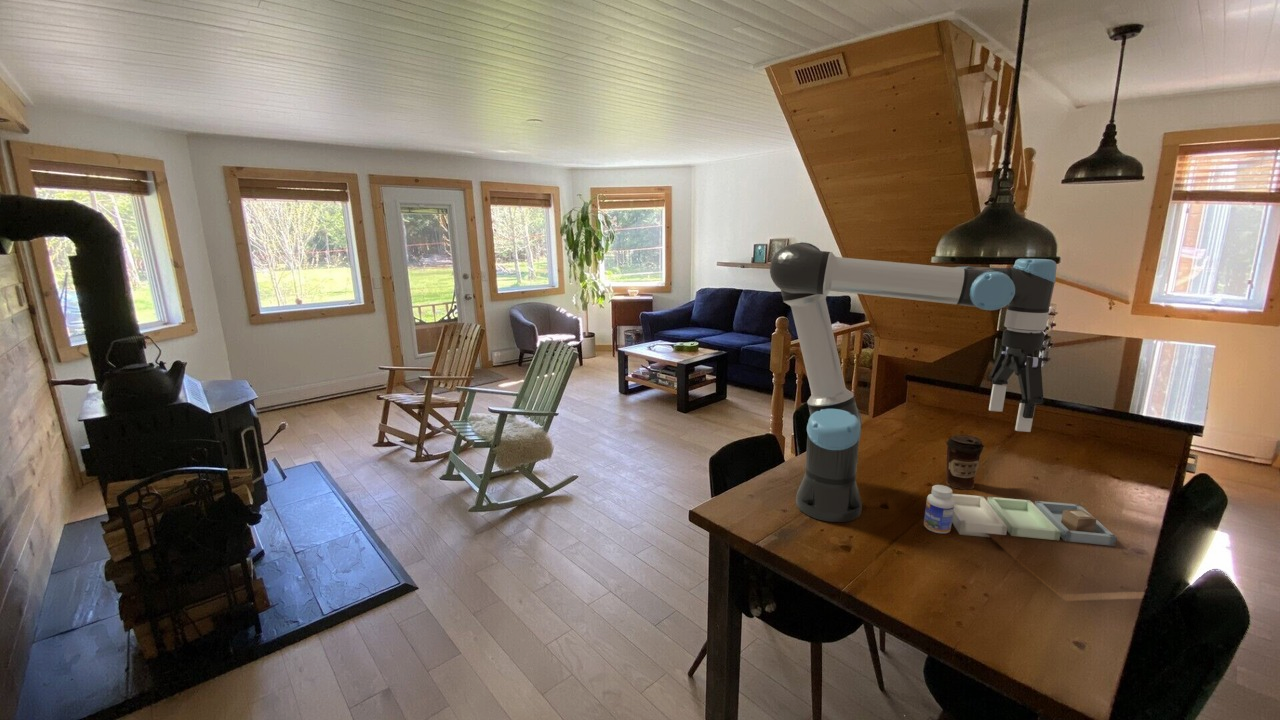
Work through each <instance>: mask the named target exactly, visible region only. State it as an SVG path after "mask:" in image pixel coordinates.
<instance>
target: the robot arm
mask: <svg viewBox="0 0 1280 720" xmlns="http://www.w3.org/2000/svg"><path fill="white" fill-rule="evenodd" d="M1057 266H1058V264H1057V262H1056V261H1055V260H1053V259H1049V258H1048V259H1047V258H1018V259H1016V260H1015V262H1014V265H1013V266H1011V267H990V266H989V267H988V266H987V267H986V266H971V265H968V266H955V267H954V266H953V267H951V266H941V265H929V264H928V265H927V264H919V263H906V262H895V261H886V260H875V259H874V260H873V259H863V258H861V259H860V258H852V257H841V256H840V257H838V256H836V255H835V254H834V253H833V252H832V251H824V250H821V249H820V248H819V247H817V246H816V245H814V244H812V243H809V242H803V241H801V242H798V243H797V242H795V243H790V244H788V245H786V246H783V247H781V248H780V249H779V250H777V251H776V253H775V254H774V255H773V257H772V259H771V261H770V265H769V274H770V278H771V280H772V282H773V283H774V285H775V286H776V287H777V288H778V289H779V290H780V293H781V296H782V297H781V298H782V301H783V303H785V304H787V305H788V306H790V309H791V313H792V317H793V321H794V325H795V329H796V334H797V338H798V342H799V347H800V351H801V354H802V358H803V365H804V367H805V372H806V376H807V380H808V384H809V389H810V394H811V395H810V396H809V398H808V400H807V401H806V402H807V407H808V411H809V418H808V422H807V425H806V432H807V435H806V436H807V438H806V452H805V453H806V454H805V455H806V456H805V471H804V476H803V478H802V480H801V482H800V484H799V487H798V489H797V492H796V494H795V495H796V497H795V504H796V507H797V508H798V510H799V511H800V512H802V513H804V515H806V516H808V517H811V518H813V519H816V520H819V521H824V522H829V523H847V522H852V521H854V520H856V519H858V518H859V517H860V515H861V514H862V507H863V505H862V504H863V503H862V499H861V495H860V491H859V487H858V484H857V471H858V470H857V469H858V458H859V457H858V456H859V447H860V446H859V445H860V437H861V433H862V425H863V423H862V420H863V419H862V415H861V412H860V411H859V408H858V407H857V404H856V399H855V395H854V392H852V391H850V390H849V389H847V387H846V384H845V379H844V374H843V370H842V366H841V361H840V356H839V353H838V347H837V344H836V343H837V342H836V339H835V336H834V332H833V331H834V330H833V326H832V322H831V318H830V313H829V308H828V304H827V303H828V302H827V296H828V295H829V294H830V292H837V293H847V294H855V295H866V296H876V297H885V298H894V299H895V298H896V299H904V300H912V301H913V300H914V301H922V302H930V303H931V302H932V303H939V304H940V303H941V304H948V305H949V304H950V305H959V306H965V307H973V308H975V307H976V308H978V309H980V310H985V311H996V310H997V311H998V310H1001V309H1002V308H1004V307H1006V306H1007V308H1006V312H1005V319H1004V323H1003V326H1004V327H1005V329H1003V332H1002V338H1001V345H1000V348H999V353H998V355H997V357H996V359H995V361H994V363H993V366H992V367H991V371H990V373H989V375H988V378H989V380H991V384H992V387H991V393H990V398H989V406H988V411H990V412H1003V411H1004V410H1003V409H1004V404H1005V398H1006V392H1007V386H1008V384H1009V383H1008V380H1009V379H1010V377H1011V376H1012V375H1013V373H1014V374H1015V376H1017V377H1018V378H1017V379H1018V383H1019V388H1020V393H1021V398H1022V399H1020V400H1019V401H1018V402H1019V406H1018V411H1017V416H1016V422H1015V427H1014V431H1016V432H1026V433H1031V431H1032V426H1033V421H1034V420H1033V419H1034V414H1035V409H1036V405H1038V404H1039V405H1040V404H1041V405H1042V404H1044V402H1045V401H1044V390H1043V389H1044V387H1043V377H1042V375H1043V374H1042V364H1043V358H1042V357H1037V356H1036V357H1035V354H1034V353H1035V351H1039V350H1041V349H1043V347H1044V343H1045V336H1046V335H1045V332H1044V331H1045V330H1046V328H1047V323H1048V320H1049V319H1050V316H1049V312H1050V307H1051V301H1052V297H1053V293H1054V287H1055V284H1056V276H1057V275H1056V274H1057Z"/></svg>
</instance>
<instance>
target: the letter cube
mask: <svg viewBox="0 0 1280 720" xmlns="http://www.w3.org/2000/svg"><path fill="white" fill-rule="evenodd" d="M1088 513H1089V512H1088ZM1088 513H1086V512H1085V511H1083V510H1081V509H1075V510H1063V514H1062V520H1061V523H1062V524H1063V525H1064V526H1065V527H1066V528H1067V529H1068V530H1070V531H1080V532H1091V533H1094V530H1095V525H1096V520H1097V521H1098V519H1097V517H1094V516H1093V515H1092V514H1091V513H1090V514H1091V515H1092V516H1091V515H1090V514H1088Z"/></svg>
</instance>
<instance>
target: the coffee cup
mask: <svg viewBox="0 0 1280 720" xmlns="http://www.w3.org/2000/svg"><path fill="white" fill-rule="evenodd" d="M946 445H947V447H946V473H945V474H946V476H945V478H946V481H945V482H946V484H947V485H948V486H950V487H952V488H955V489H958V490H970V489H971V490H972V489H973V488H974V487H975V479H974V478H976V475H977V471H978V469H979V465H980V458H981V453H983V450H984V447H985V446H984V444H983V443H982V440H981V439H980V438H979V437H976V436H972V435H967V434H957V435H956V434H955V435H953V436H951V437H950V439H948V440H947V441H946Z"/></svg>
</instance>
